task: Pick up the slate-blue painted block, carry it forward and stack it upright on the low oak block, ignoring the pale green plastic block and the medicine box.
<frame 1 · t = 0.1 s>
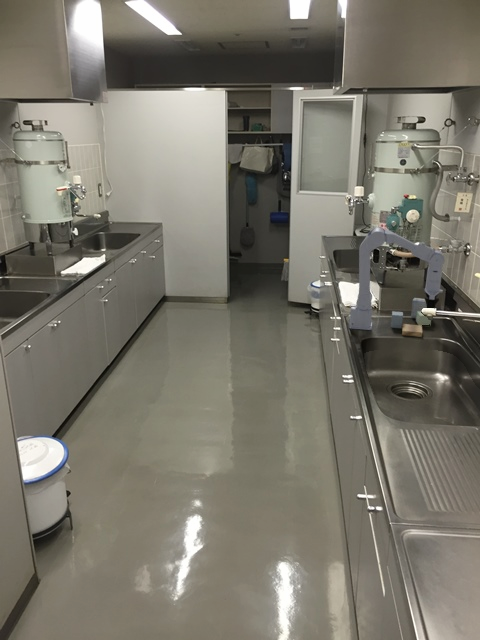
hand: (429, 310, 221), 10 cm above the counter, fingers open, 7 cm apart
green block: (422, 323, 234), on the counter
oak block: (411, 332, 225), on the counter
blue block: (396, 326, 232), on the counter
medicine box: (420, 318, 241), on the counter
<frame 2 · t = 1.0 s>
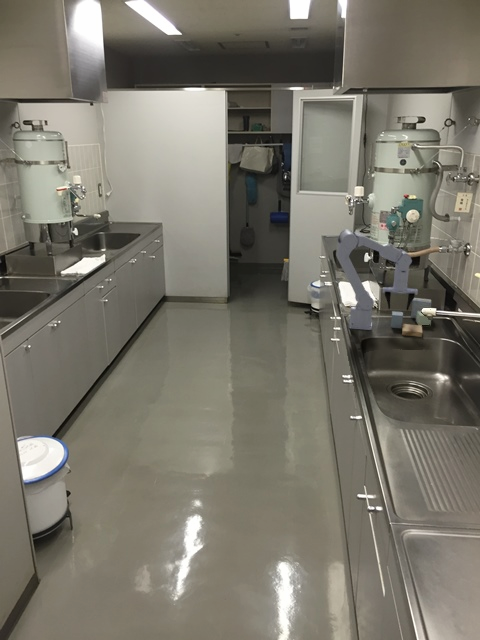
hand: (398, 308, 229), 8 cm above the counter, fingers open, 7 cm apart
nothing on the counter moved.
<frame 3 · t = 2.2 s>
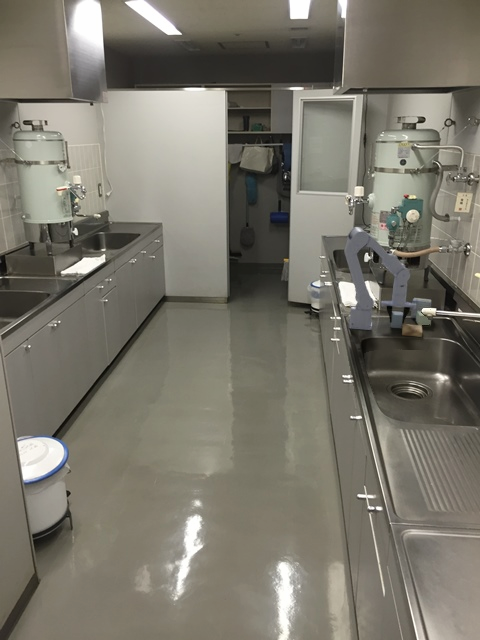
hand: (396, 322, 231), 2 cm above the counter, fingers closed on blue block, 4 cm apart
blue block: (396, 325, 232), on the counter, touching gripper
everything else where it was.
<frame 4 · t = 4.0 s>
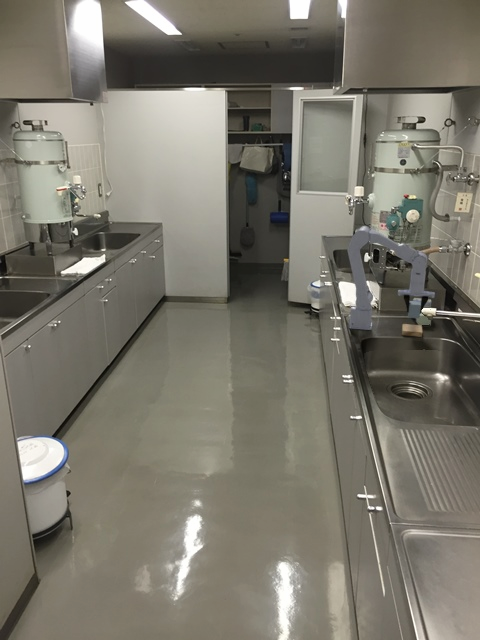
hand: (414, 312, 221), 9 cm above the counter, fingers closed on blue block, 4 cm apart
blue block: (413, 316, 222), point 7 cm above the counter, touching gripper
everything else where it was.
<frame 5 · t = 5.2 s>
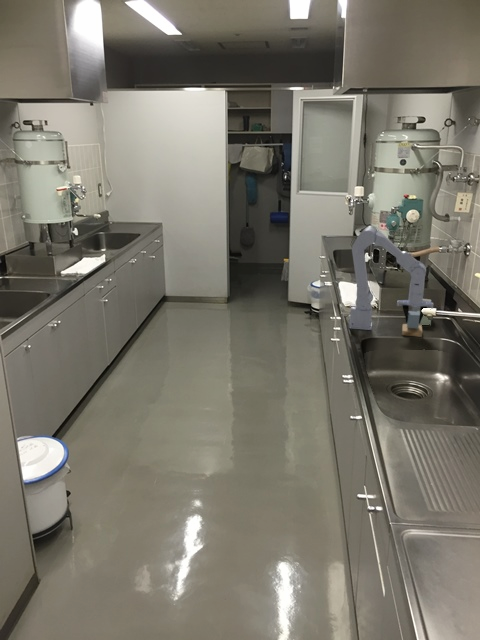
hand: (412, 322, 223), 5 cm above the counter, fingers closed on blue block, 4 cm apart
blue block: (412, 326, 224), point 3 cm above the counter, touching gripper
everything else where it was.
when the fingers open (5 cm above the counter, at t = 5.9 s): blue block stays where it is, resting on oak block.
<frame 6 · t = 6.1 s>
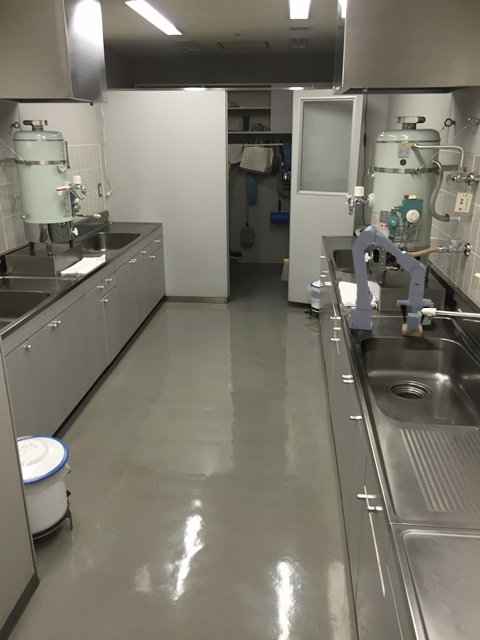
hand: (412, 322, 223), 5 cm above the counter, fingers open, 6 cm apart
blue block: (412, 328, 224), point 2 cm above the counter, touching oak block
everything else where it was.
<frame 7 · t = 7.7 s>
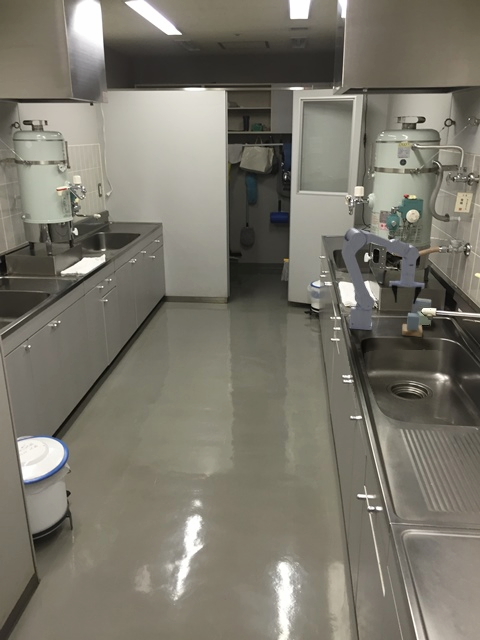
hand: (404, 302, 229), 10 cm above the counter, fingers open, 7 cm apart
nothing on the counter moved.
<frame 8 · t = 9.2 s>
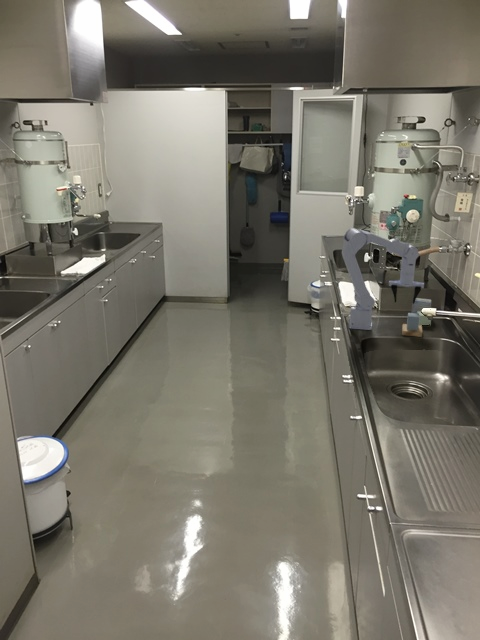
hand: (404, 302, 230), 10 cm above the counter, fingers open, 7 cm apart
nothing on the counter moved.
at the end: blue block 0.1 cm off-centre on the oak block, point 2.0 cm above the oak block's base; blue block tilted 0°; the gripper is holding nothing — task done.
